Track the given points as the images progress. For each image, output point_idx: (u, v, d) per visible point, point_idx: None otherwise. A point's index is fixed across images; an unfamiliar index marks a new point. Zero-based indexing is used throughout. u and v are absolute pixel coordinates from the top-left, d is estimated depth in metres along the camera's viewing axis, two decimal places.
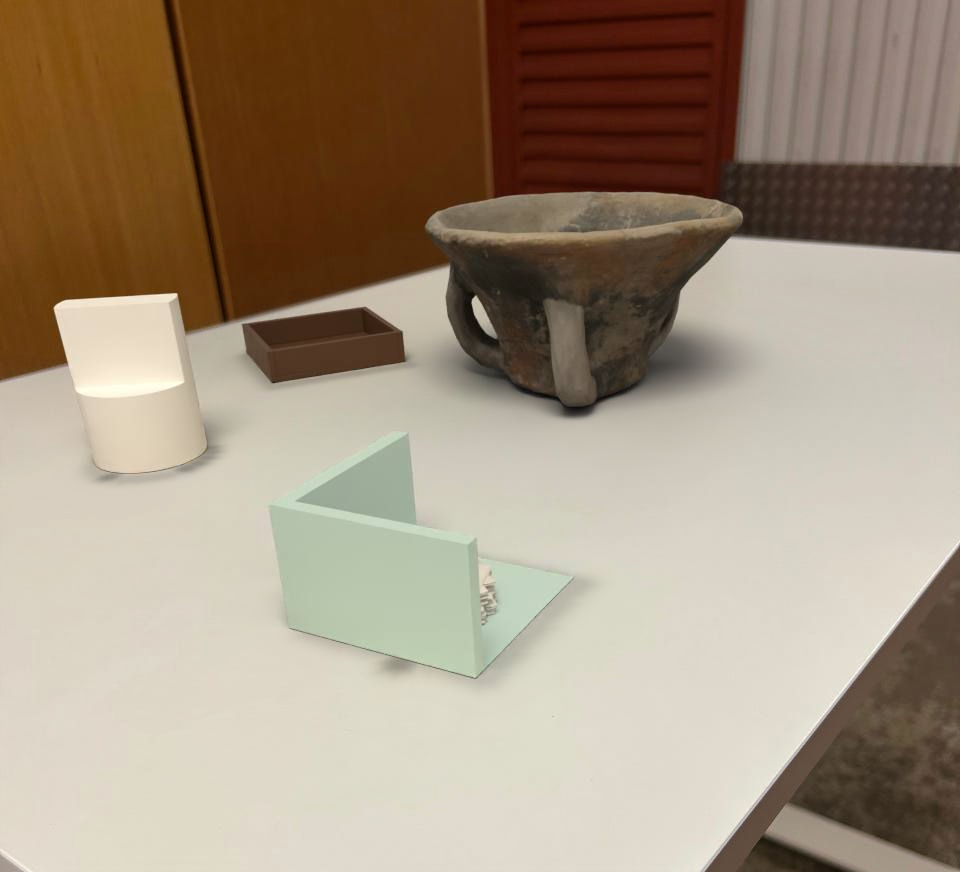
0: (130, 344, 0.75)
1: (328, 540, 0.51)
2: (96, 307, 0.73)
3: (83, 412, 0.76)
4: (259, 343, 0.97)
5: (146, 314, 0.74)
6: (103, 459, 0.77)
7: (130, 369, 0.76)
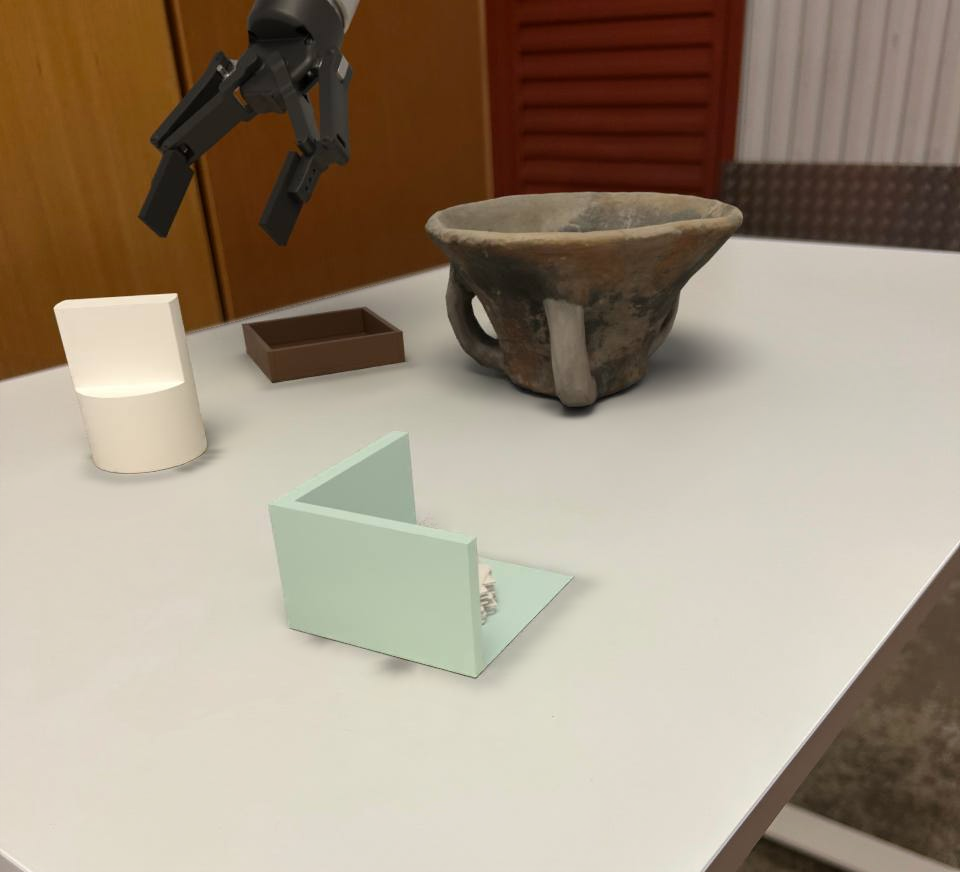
0: (130, 344, 0.75)
1: (328, 540, 0.51)
2: (96, 307, 0.73)
3: (83, 412, 0.76)
4: (259, 343, 0.97)
5: (146, 314, 0.74)
6: (103, 459, 0.77)
7: (130, 369, 0.76)
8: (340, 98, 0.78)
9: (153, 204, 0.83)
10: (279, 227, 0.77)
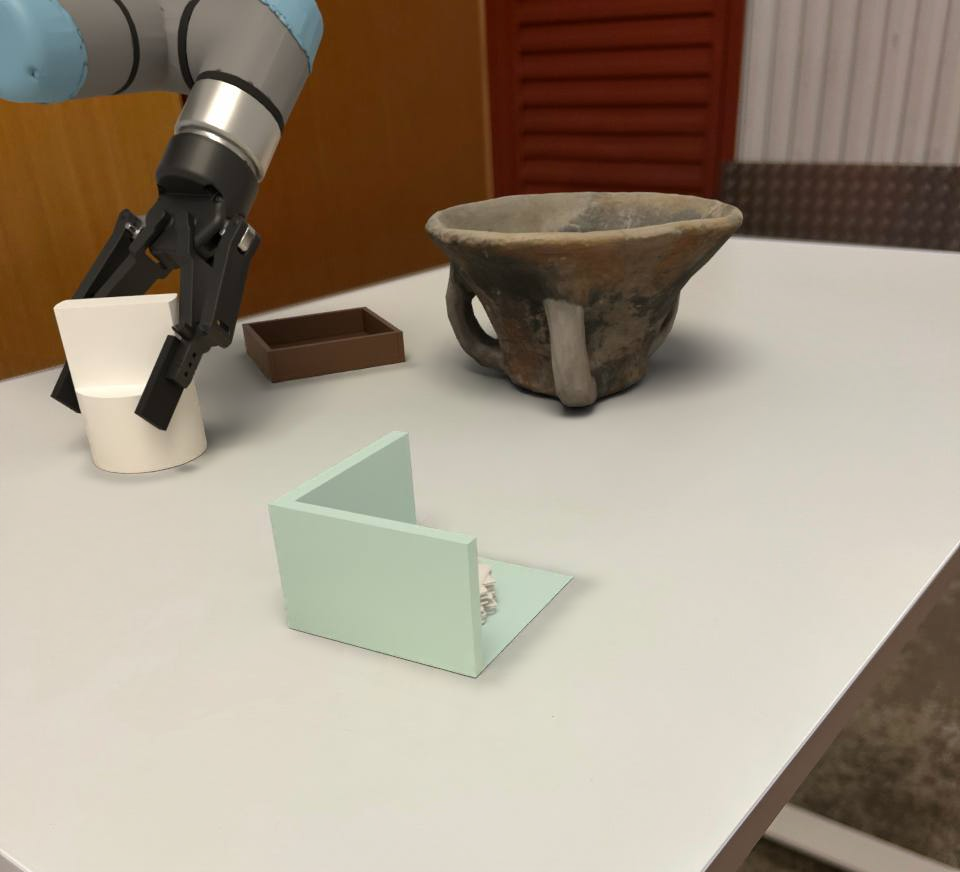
0: (130, 344, 0.75)
1: (328, 540, 0.51)
2: (96, 307, 0.73)
3: (83, 412, 0.76)
4: (259, 343, 0.97)
5: (146, 314, 0.74)
6: (103, 459, 0.77)
7: (130, 369, 0.76)
8: (235, 274, 0.75)
9: (67, 382, 0.78)
10: (158, 414, 0.74)
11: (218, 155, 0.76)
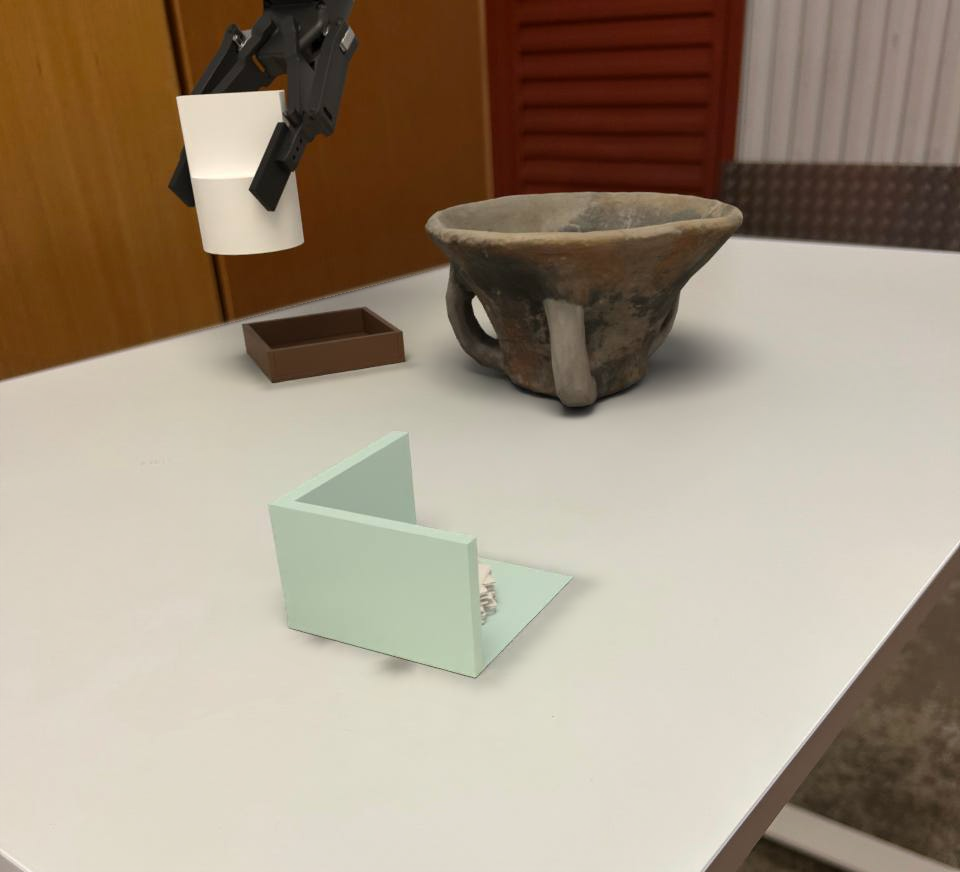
0: (243, 133, 0.84)
1: (328, 540, 0.51)
2: (214, 96, 0.82)
3: (198, 198, 0.85)
4: (259, 343, 0.97)
5: (259, 104, 0.82)
6: (215, 243, 0.86)
7: (241, 158, 0.84)
8: (337, 70, 0.83)
9: (183, 175, 0.86)
10: (268, 193, 0.83)
11: None
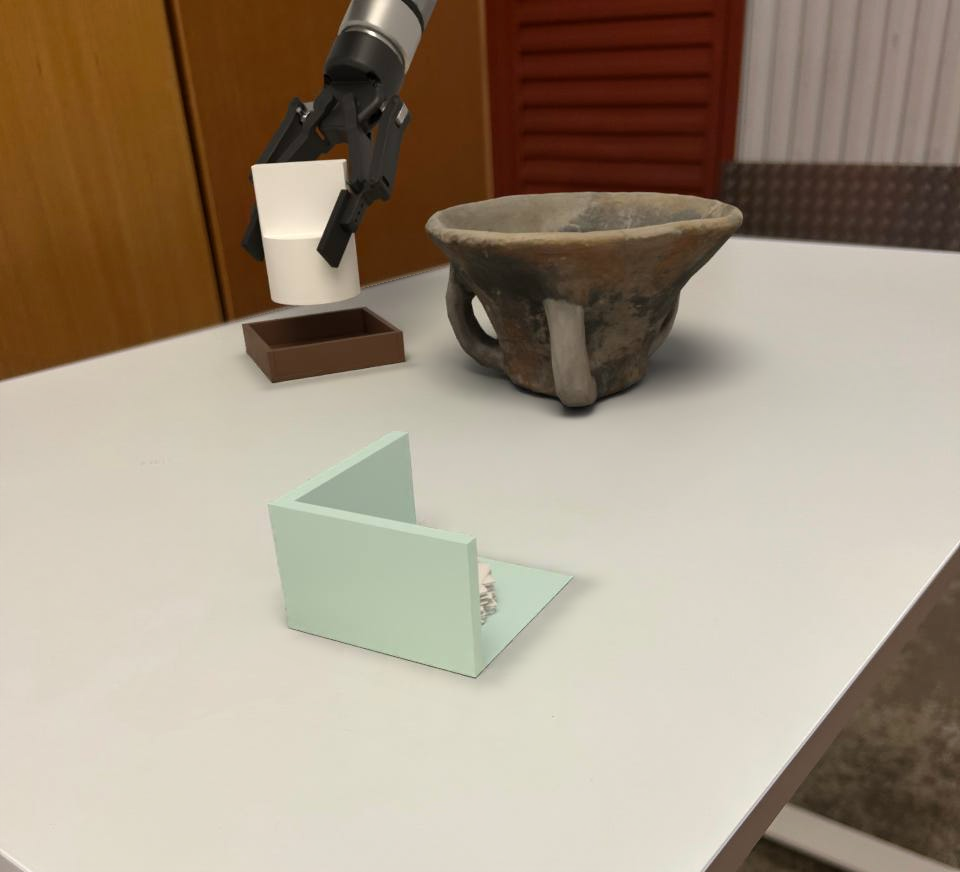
0: (310, 198, 0.94)
1: (328, 540, 0.51)
2: (285, 166, 0.92)
3: (269, 255, 0.95)
4: (259, 343, 0.97)
5: (324, 173, 0.93)
6: (283, 294, 0.96)
7: (308, 220, 0.95)
8: (393, 142, 0.94)
9: (254, 233, 0.97)
10: (333, 252, 0.93)
11: (378, 48, 0.95)
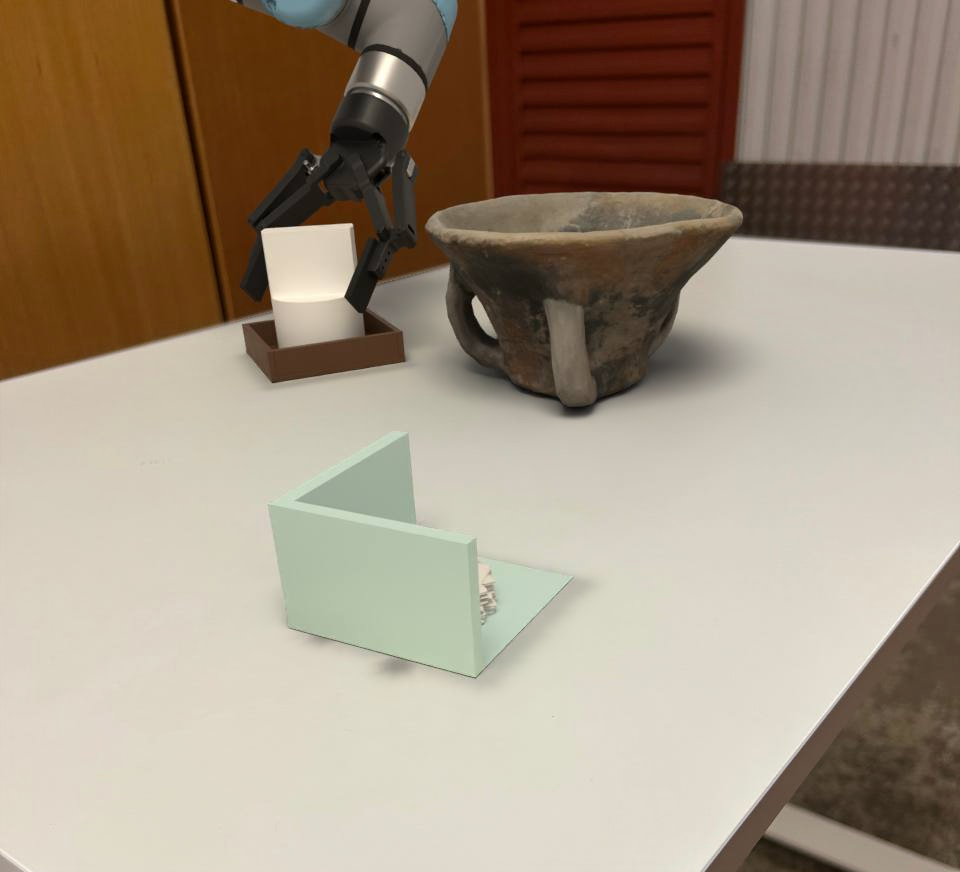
0: (317, 262, 0.97)
1: (328, 540, 0.51)
2: (294, 232, 0.95)
3: (278, 316, 0.98)
4: (259, 343, 0.97)
5: (332, 238, 0.96)
6: None
7: (316, 282, 0.98)
8: (409, 193, 0.96)
9: (252, 276, 1.01)
10: (360, 299, 0.95)
11: (383, 110, 0.98)
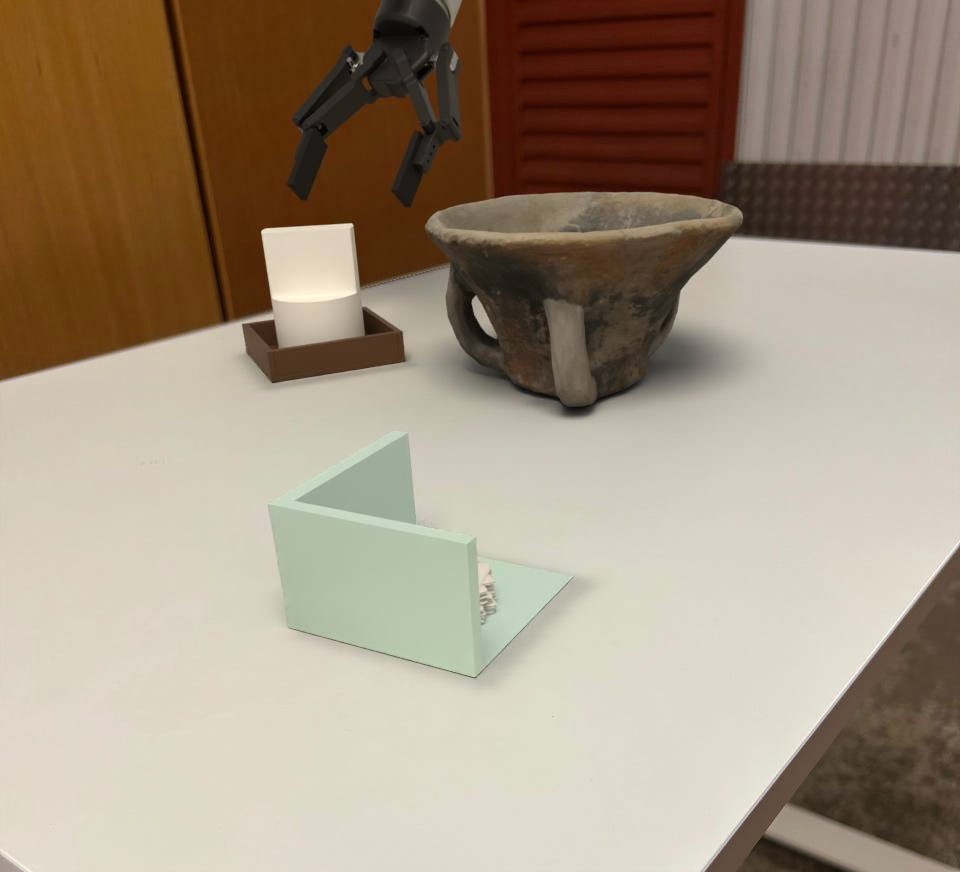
0: (317, 262, 0.97)
1: (327, 540, 0.51)
2: (294, 232, 0.95)
3: (278, 316, 0.98)
4: (259, 343, 0.97)
5: (332, 238, 0.96)
6: None
7: (316, 282, 0.98)
8: (453, 86, 0.98)
9: (298, 174, 1.03)
10: (406, 192, 0.97)
11: (426, 3, 0.99)
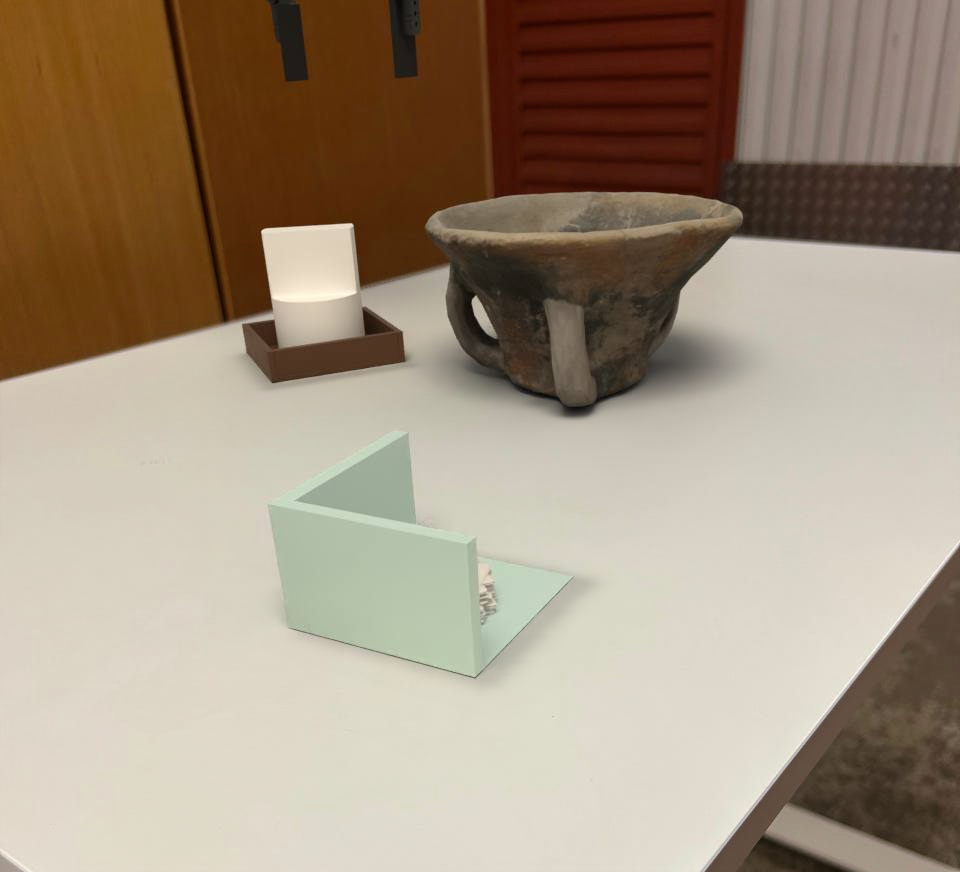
0: (318, 262, 0.97)
1: (327, 540, 0.51)
2: (294, 232, 0.95)
3: (278, 316, 0.98)
4: (259, 343, 0.97)
5: (332, 238, 0.96)
6: None
7: (316, 282, 0.98)
8: None
9: (291, 64, 0.98)
10: (409, 67, 0.93)
11: None
